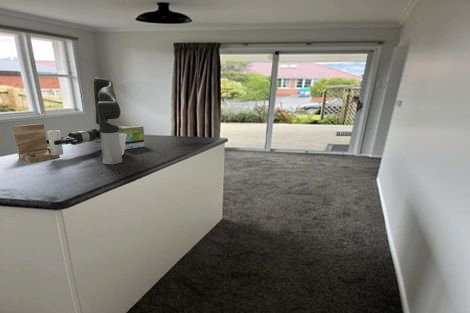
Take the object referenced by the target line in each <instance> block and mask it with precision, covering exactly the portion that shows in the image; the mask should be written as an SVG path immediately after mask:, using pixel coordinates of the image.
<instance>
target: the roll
mask: <svg viewBox="0 0 470 313" xmlns="http://www.w3.org/2000/svg"><path fill="white" fill-rule="evenodd" d="M46 132H47V138H48V139H47V140H49V144H48V145H49V148H50V151H51V155H60V156H61V155H63V154H64V149H63V144H59V145H55V144H54V141H57V140H61V137H62V135H61V130H60V129H59V130H57V129H54V130H48V131H46Z"/></svg>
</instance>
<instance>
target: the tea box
mask: <svg viewBox="0 0 470 313" xmlns="http://www.w3.org/2000/svg"><path fill="white" fill-rule="evenodd" d="M117 126H118V128H119V133H123V134H126V142H125V149H124V151H125V150H130V149H137V148H143V147H145V132H144V131H145V128H144V126H141V125H137V124H134V125H121V126H119V125H117Z"/></svg>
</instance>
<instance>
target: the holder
mask: <svg viewBox="0 0 470 313" xmlns="http://www.w3.org/2000/svg"><path fill="white" fill-rule="evenodd" d="M12 129H13V133H14V134H13V135H14V139H15V144H16V150H17V154H18V155H17V156H18V159H20V160H23V161H26V162H28V163H34V162H35V163H36V162H41V161H45V160H50V159H57V158H60V156H61V155H51V151H50V147H48V144H47V143H46V140H47V136H46V129H45V125H44V123H37V124H36V123H34V124H25V125H24V124H22V125H12Z"/></svg>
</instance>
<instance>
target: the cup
mask: <svg viewBox="0 0 470 313" xmlns="http://www.w3.org/2000/svg"><path fill="white" fill-rule="evenodd" d="M119 138H120V146H121V150H122V156H123V155H124V153H125V150H124V149H125V142H126V134H123V133H119Z"/></svg>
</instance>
